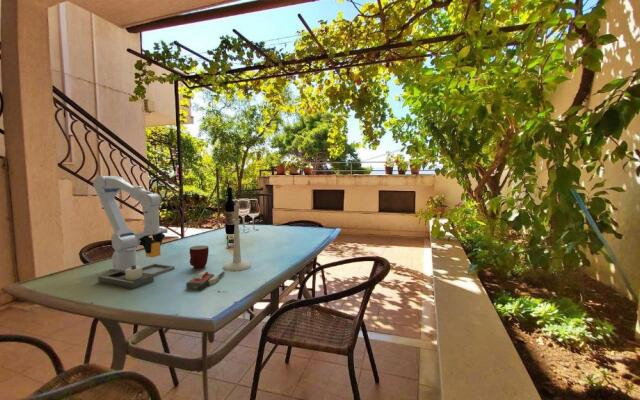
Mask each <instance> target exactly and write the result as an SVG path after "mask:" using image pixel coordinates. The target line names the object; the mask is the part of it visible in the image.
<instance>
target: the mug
mask: <svg viewBox="0 0 640 400" xmlns="http://www.w3.org/2000/svg"><path fill="white" fill-rule="evenodd" d="M209 250H210V248H209V246H208V245H194V246H191V247H189V256H190V258H189V264H190V266H192V268H194V269H195V270H201V269H205V268H206V266H207V264H208V258H209Z"/></svg>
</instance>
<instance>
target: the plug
mask: <svg viewBox="0 0 640 400" xmlns="http://www.w3.org/2000/svg"><path fill="white" fill-rule="evenodd" d="M158 256H161V246H160V242H156V241H155V239H153V238H152V241H151V252H150V253H146V252H145V257H146V258H147V257H148V258H156V257H158Z"/></svg>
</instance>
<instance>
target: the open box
mask: <svg viewBox="0 0 640 400" xmlns="http://www.w3.org/2000/svg"><path fill="white" fill-rule="evenodd" d="M154 277H155V276H153V275H147V274H142V277H141V278H138V279H136V280H127V279H126V276H125V271H123V270H119V271H118V270H114V271H113V272H109V273H106V274H102V275H98V277H97V279H98V280H97V282H98V283H99V284H104V285H108V286H109V285H110V286H114V287H119V288H124V289H129V290H134V289H137V288H141V287H143V286H145V285H148V284H151V283H154V281H155V278H154Z"/></svg>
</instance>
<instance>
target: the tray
mask: <svg viewBox="0 0 640 400" xmlns="http://www.w3.org/2000/svg"><path fill="white" fill-rule="evenodd" d="M141 268H142V274H147V275H153V276H154V277H156V276H159V275H162V274H164V273H167V272H170V271H173V270H175V269H176V268H175V265H168V264H161V263H152V264H149V265H146V266H143V267H142V266H141Z"/></svg>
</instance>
